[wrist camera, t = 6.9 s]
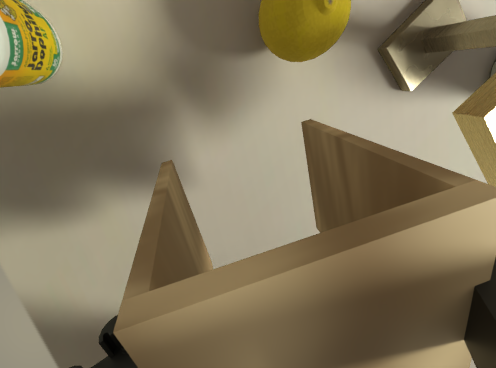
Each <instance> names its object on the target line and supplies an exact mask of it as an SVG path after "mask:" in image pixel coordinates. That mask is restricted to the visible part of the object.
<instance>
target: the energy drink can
mask: <svg viewBox="0 0 496 368" xmlns="http://www.w3.org/2000/svg"><path fill="white" fill-rule="evenodd" d="M495 73H496V61H495V63H494V65H493V68H492V70H491V75H490V77H491V76H493V75H494V74H495Z"/></svg>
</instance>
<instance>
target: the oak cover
mask: <svg viewBox="0 0 496 368" xmlns="http://www.w3.org/2000/svg"><path fill="white" fill-rule="evenodd" d="M301 123H302V130H303V137H304V144H305V151H306V158H307V165H308V171H309V178H310V185H311V192H312V199H313V206H314V213H315V220H316V227H317V229H318V230H319V231H320V233H319V234H316V235H313V236H310V237H307V238H304V239H301V240H298V241H295V242H293V243H290V244H287V245H284V246H281V247H278V248H275V249H272V250H269V251H266V252H263V253H260V254H257V255H254V256H251V257H249V258H246V259H243V260H240V261H237V262H234V263H231V264H228V265H225V266H222V267H219V268H216V269H213V266H212V262H211V259H210V257H209V254H208V252H207V249H206V246H205V244H204V241H203V239H202V236H201V233H200V231H199V228H198V226H197V223H196V221H195V218H194V215H193V213H192V210H191V208H190V205H189V202H188V200H187V197H186V195H185V192H184V190H183V187H182V184H181V182H180V179H179V177H178V174H177V172H176V169H175V166H174V164H173V161H172V160H170V161H167V162H163V163H162V164H161V167H160V171H159V174H158V178H157V181H156V185H155V188H154V192H153V195H152V199H151V202H150V206H149V209H148V213H147V216H146V220H145V223H144V227H143V230H142V234H141V237H140V240H139V244H138V247H137V251H136V254H135V258H134V261H133V265H132V268H131V272H130V275H129V279H128V282H127V286H126V289H125V293H124V296H123V300H122V303H121V307H120V310H119V314H118V317H117V321H116V324H115V328H114V331H113V333H114V335H115V336H116V338H117V339H118V340H119V342H120V343H121V344H122V346H123V347H124V349H125V350H126V351H127V353H128V354H129V356H130V357H131V358H132V360H133V361H134V363H135V364H136V365H137V367H138V368H469V367H470V362H471V358H472V357H471V354H470V352H469V350H468V348H467V346H466V344H465V341H464V336H465V331H466V326H467V321H468V317H469V312H470V307H471V302H472V297H473V292H474V287H475V286H476V285H479V284H481V283H484V282H487V281H489V280H490V278H491V274H492V270H493V266H494V262H495V257H496V187H494V186H491V185H489V184H486V183H483V182H481V181H478V180H475V179H472V178H470V177H467V176H464V175H461V174H459V173H456V172H453V171H450V170H448V169H445V168H442V167H440V166H437V165H434V164H431V163H429V162H426V161H423V160H420V159H418V158H415V157H412V156H409V155H407V154H404V153H401V152H399V151H396V150H393V149H390V148H388V147H385V146H382V145H379V144H377V143H374V142H371V141H368V140H366V139H363V138H360V137H358V136H355V135H352V134H349V133H347V132H344V131H341V130H338V129H336V128H333V127H330V126H327V125H325V124H322V123H319V122H317V121H314V120H311V119H310V120H306V121H303V122H301Z"/></svg>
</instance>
